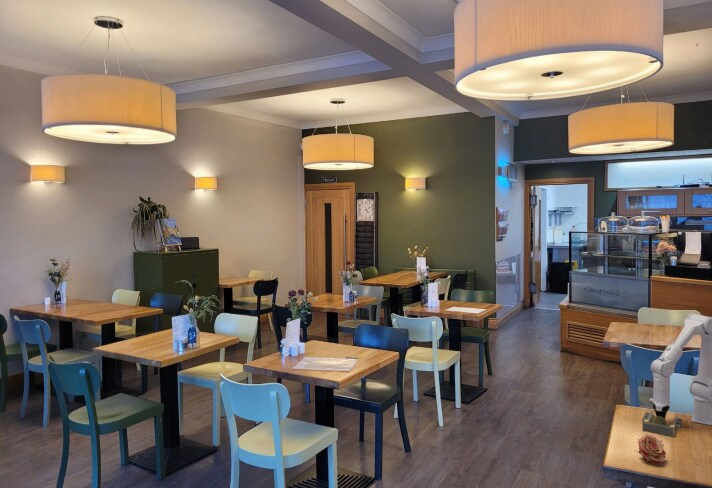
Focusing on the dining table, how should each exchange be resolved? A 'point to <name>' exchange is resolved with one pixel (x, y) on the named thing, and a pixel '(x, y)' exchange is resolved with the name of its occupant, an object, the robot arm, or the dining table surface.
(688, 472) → the dining table surface
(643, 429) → the grey u-shaped block
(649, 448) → the flower
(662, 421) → the lime
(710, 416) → the robot arm
